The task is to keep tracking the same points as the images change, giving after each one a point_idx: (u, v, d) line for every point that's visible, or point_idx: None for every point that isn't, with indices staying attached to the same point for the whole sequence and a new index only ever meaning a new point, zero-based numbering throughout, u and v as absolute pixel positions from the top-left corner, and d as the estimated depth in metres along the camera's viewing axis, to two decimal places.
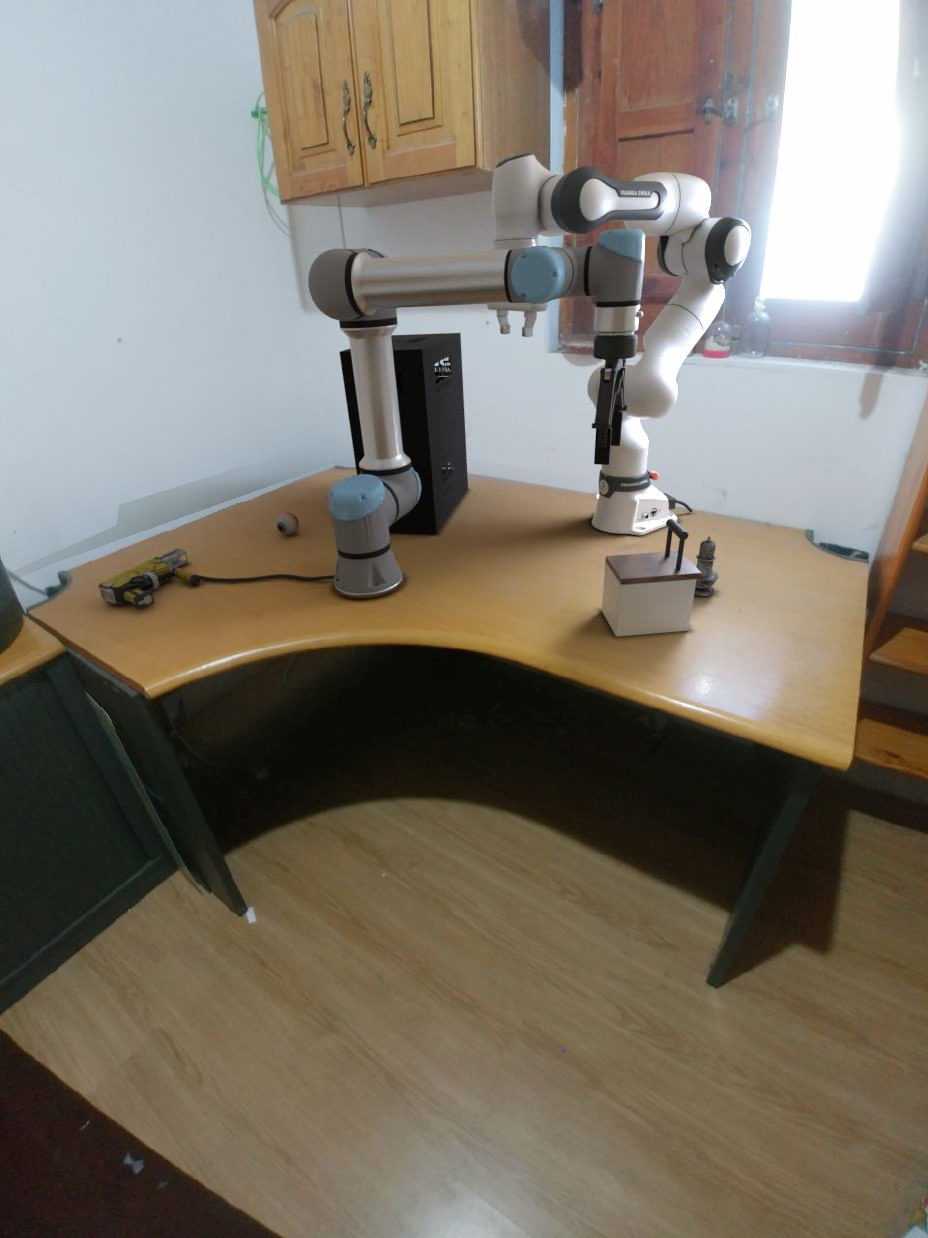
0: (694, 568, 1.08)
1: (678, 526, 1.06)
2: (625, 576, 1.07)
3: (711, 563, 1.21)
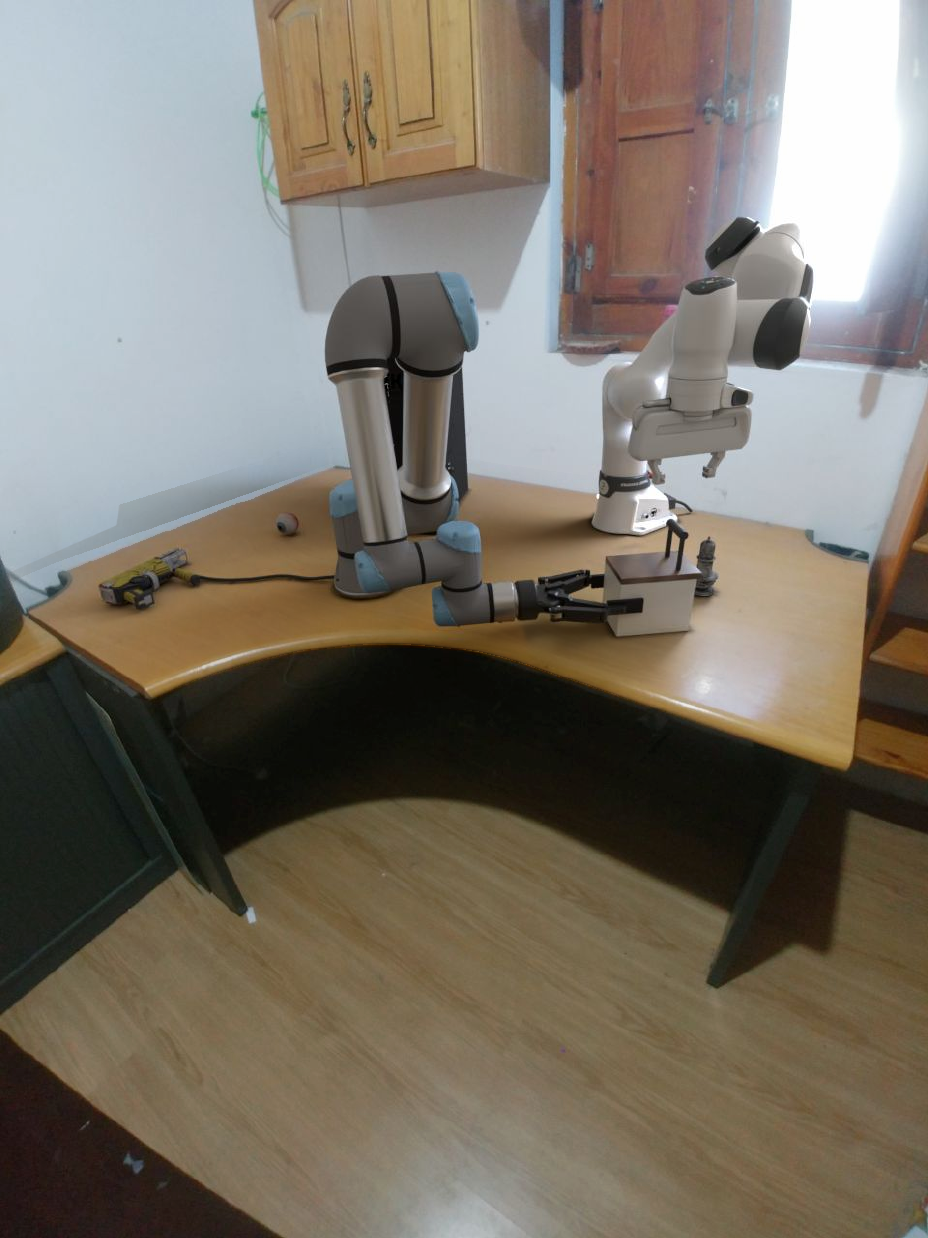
0: (694, 568, 1.08)
1: (678, 526, 1.06)
2: (625, 576, 1.07)
3: (711, 563, 1.21)
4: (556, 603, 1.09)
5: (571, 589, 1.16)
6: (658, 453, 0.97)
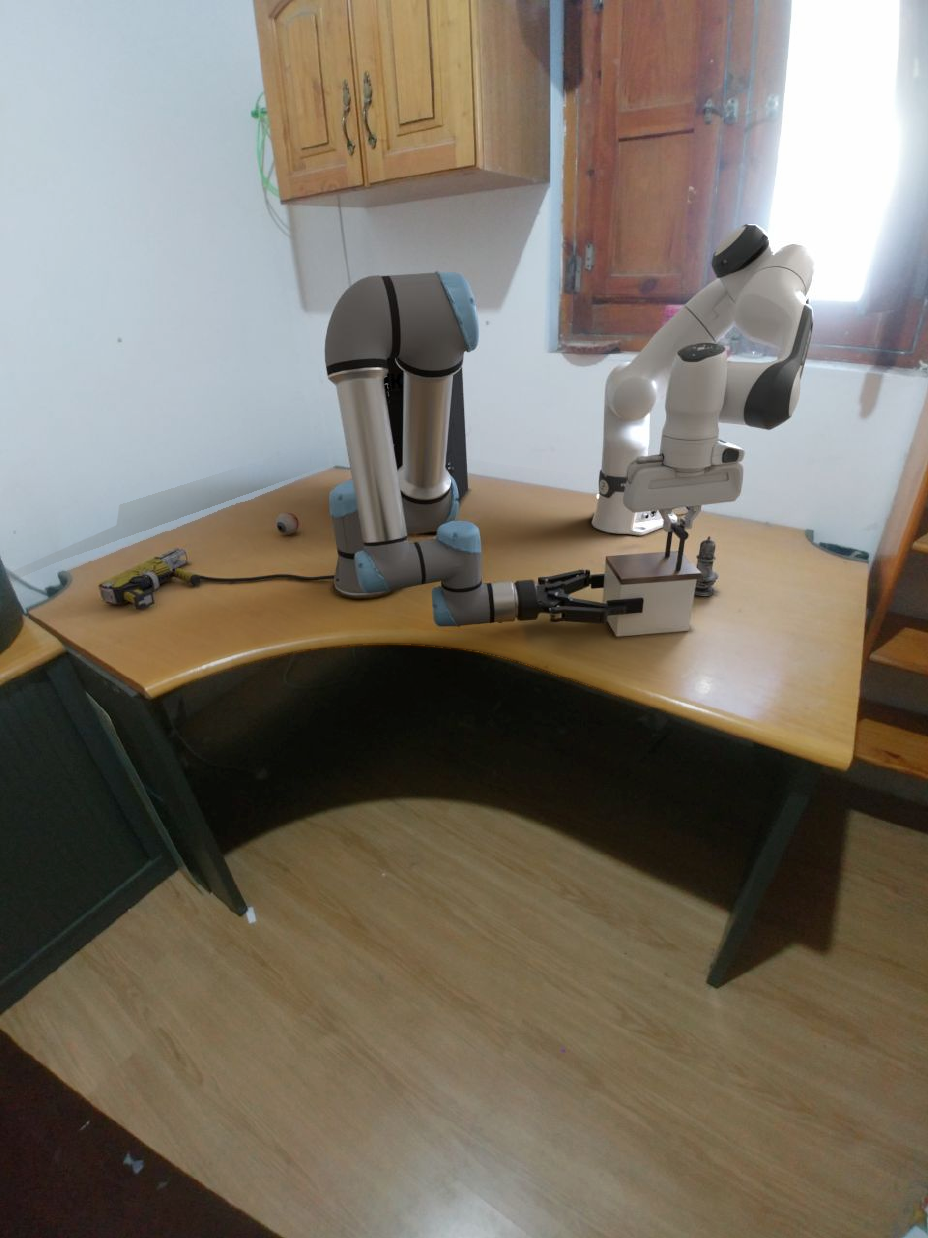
0: (694, 568, 1.08)
1: (678, 526, 1.06)
2: (625, 576, 1.07)
3: (711, 563, 1.21)
4: (556, 603, 1.09)
5: (571, 589, 1.16)
6: (651, 505, 1.02)
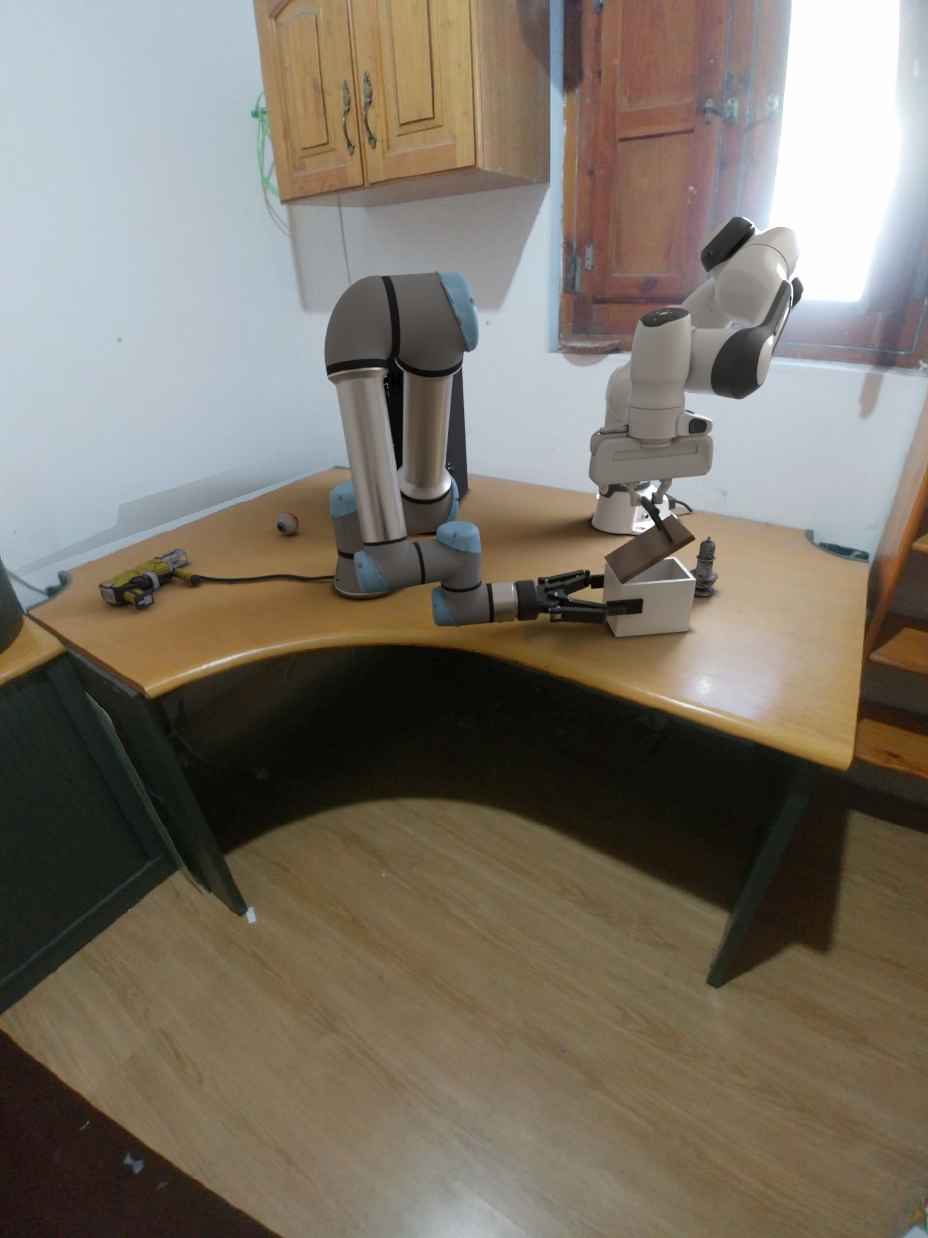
0: (686, 531, 1.04)
1: (647, 504, 1.03)
2: (622, 574, 1.06)
3: (711, 563, 1.21)
4: (556, 603, 1.09)
5: (570, 590, 1.16)
6: (616, 478, 0.99)
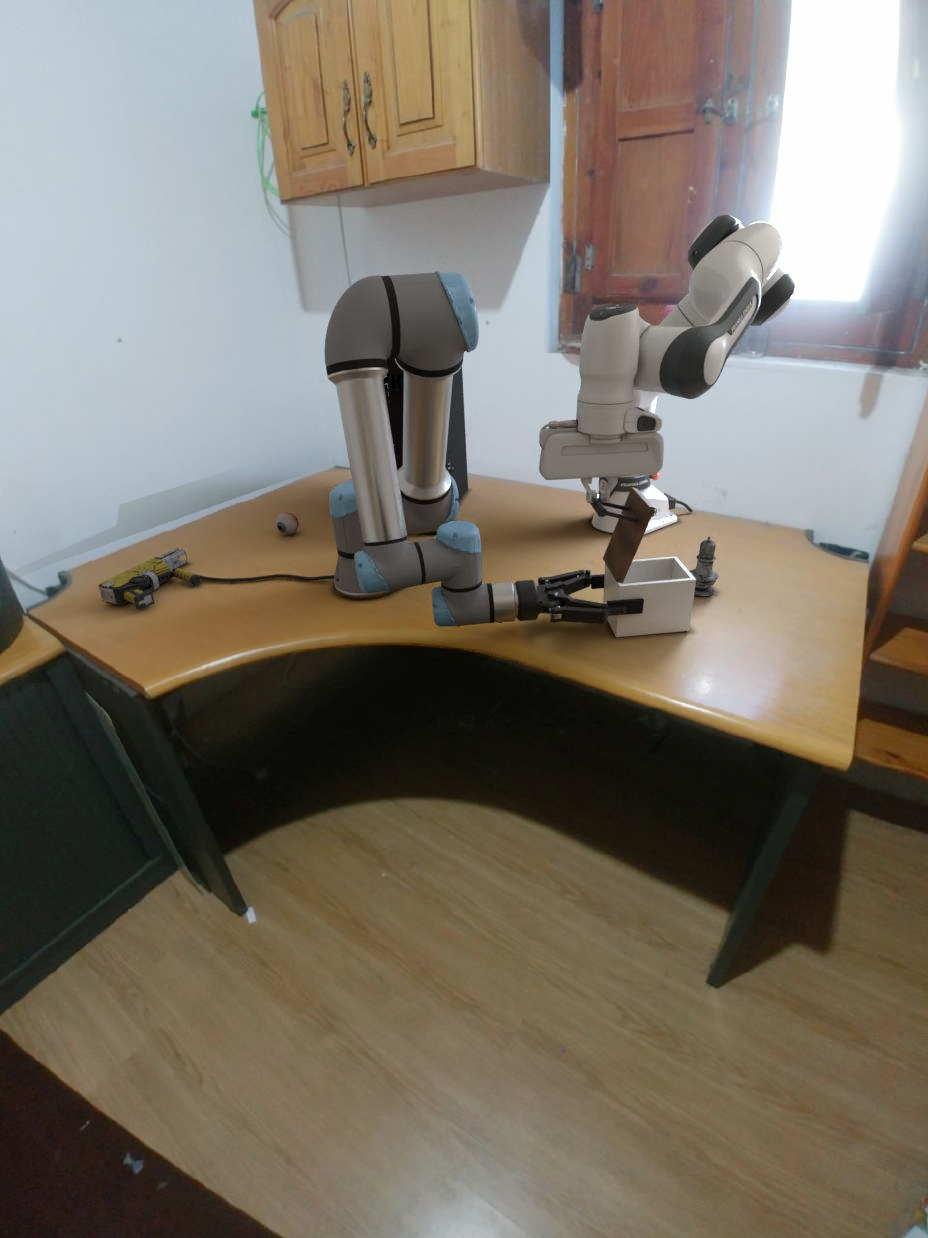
0: (644, 505, 1.01)
1: (594, 506, 1.03)
2: (617, 574, 1.06)
3: (711, 563, 1.21)
4: (556, 603, 1.09)
5: (571, 590, 1.15)
6: (564, 473, 0.99)
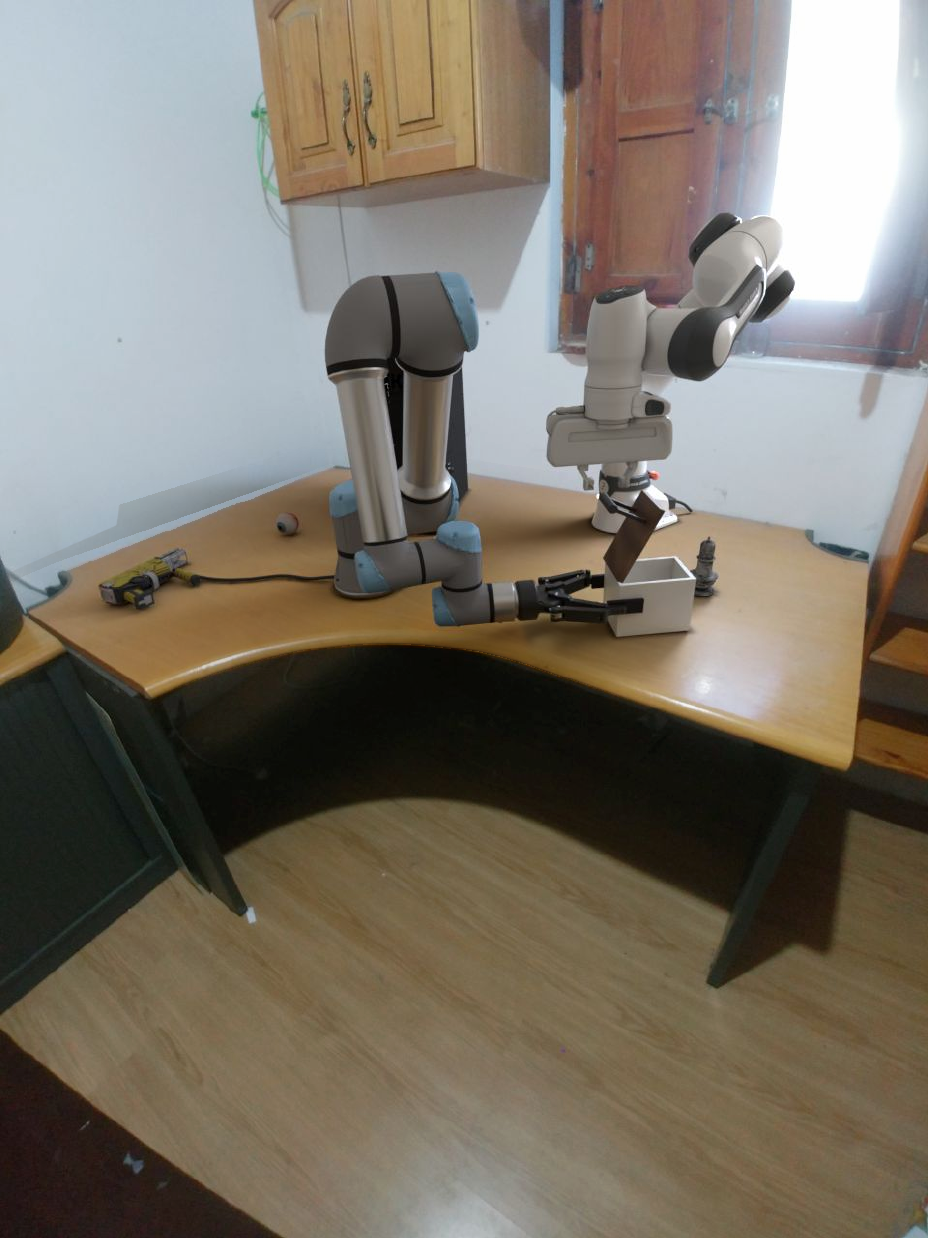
0: (654, 507, 1.01)
1: (604, 503, 1.03)
2: (618, 573, 1.06)
3: (711, 563, 1.21)
4: (556, 603, 1.09)
5: (571, 589, 1.15)
6: (572, 460, 0.98)
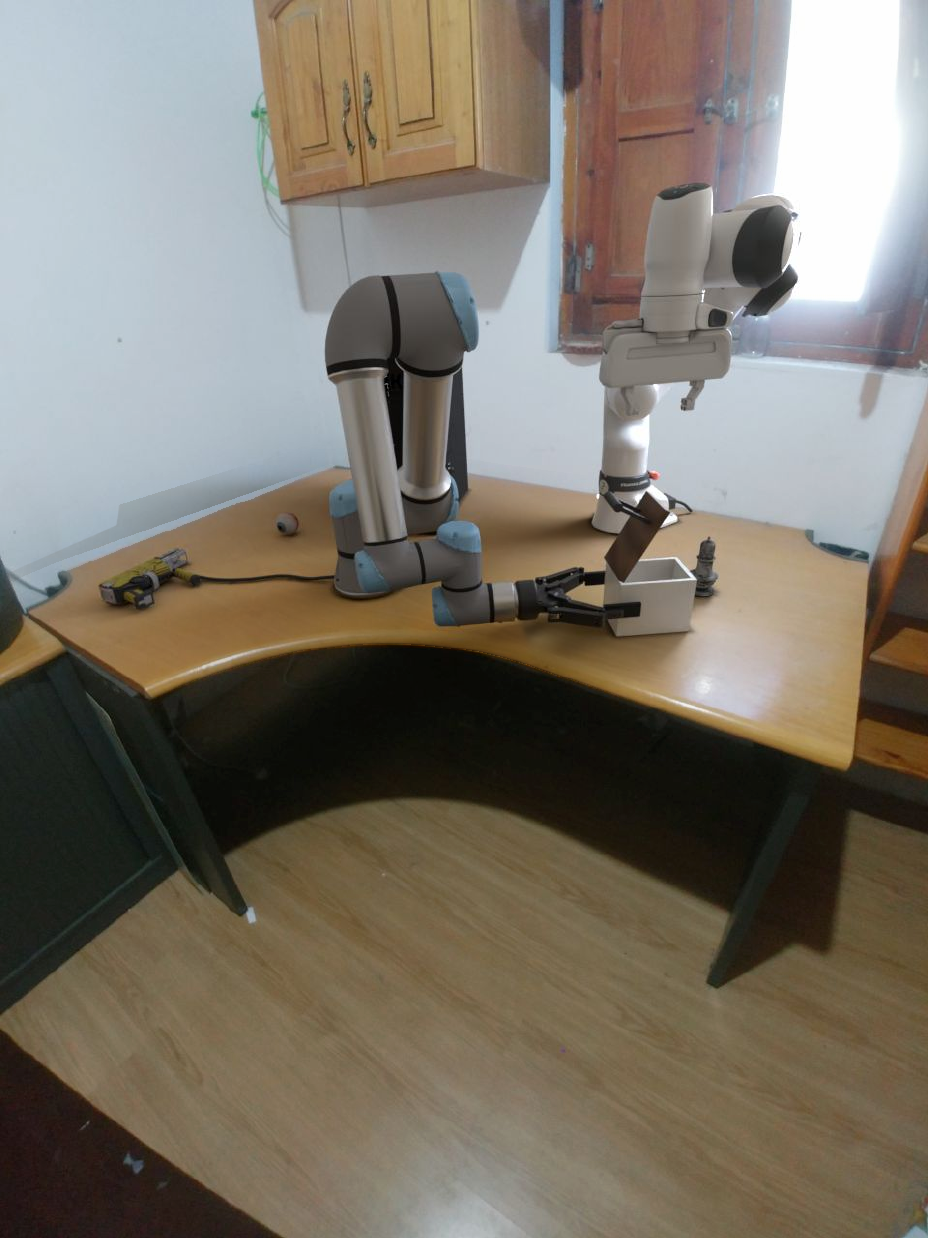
0: (659, 508, 1.02)
1: (610, 501, 1.03)
2: (620, 573, 1.06)
3: (711, 563, 1.21)
4: (556, 603, 1.09)
5: (568, 588, 1.16)
6: (630, 379, 0.91)
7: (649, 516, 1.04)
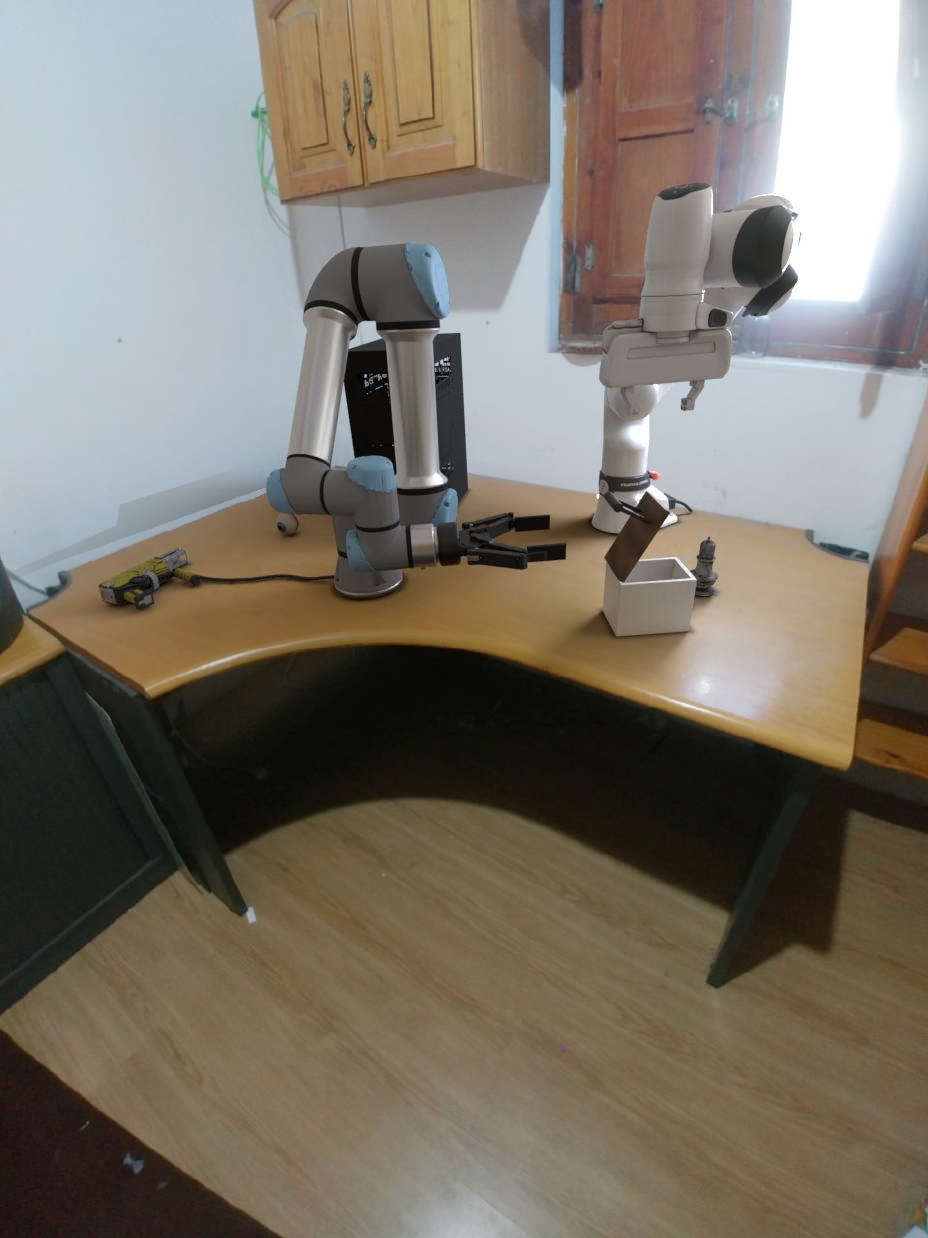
0: (659, 508, 1.02)
1: (610, 501, 1.03)
2: (620, 573, 1.06)
3: (711, 563, 1.21)
4: (478, 545, 1.02)
5: (495, 533, 1.10)
6: (630, 379, 0.91)
7: (649, 516, 1.04)
